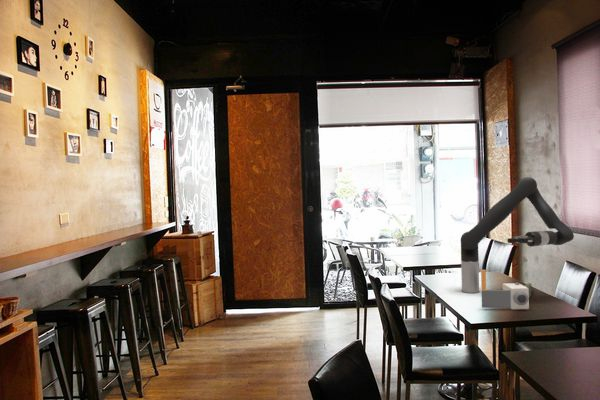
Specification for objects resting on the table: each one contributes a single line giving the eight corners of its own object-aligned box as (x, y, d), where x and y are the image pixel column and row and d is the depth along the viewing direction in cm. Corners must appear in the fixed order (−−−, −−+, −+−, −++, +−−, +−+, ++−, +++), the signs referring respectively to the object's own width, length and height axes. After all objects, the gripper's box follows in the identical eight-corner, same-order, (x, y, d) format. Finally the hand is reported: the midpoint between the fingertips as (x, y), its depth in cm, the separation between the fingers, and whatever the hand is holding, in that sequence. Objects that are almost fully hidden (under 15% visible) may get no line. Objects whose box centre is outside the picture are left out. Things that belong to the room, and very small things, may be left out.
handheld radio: (513, 302, 253) (529, 293, 271) (519, 303, 251) (535, 294, 269) (513, 289, 252) (529, 281, 271) (520, 290, 250) (536, 282, 269)
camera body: (502, 303, 251) (502, 281, 251) (519, 302, 251) (518, 281, 251) (513, 310, 237) (513, 287, 237) (530, 310, 237) (530, 287, 237)
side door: (482, 307, 241) (481, 270, 241) (481, 307, 242) (481, 269, 242) (510, 308, 238) (510, 270, 238) (510, 307, 239) (509, 269, 239)
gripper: (527, 230, 262) (499, 232, 257) (546, 232, 249) (517, 234, 244) (527, 244, 262) (499, 246, 257) (546, 247, 250) (517, 249, 245)
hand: (508, 240), depth 251 cm, fingers closed
